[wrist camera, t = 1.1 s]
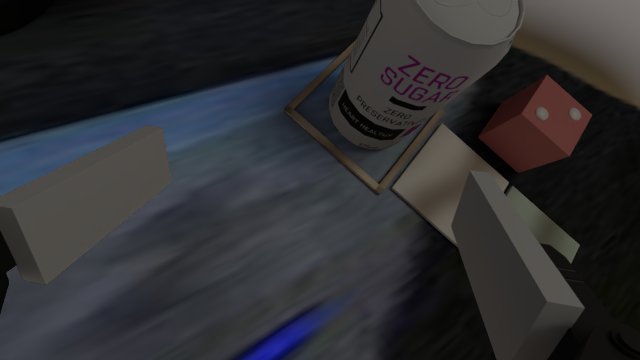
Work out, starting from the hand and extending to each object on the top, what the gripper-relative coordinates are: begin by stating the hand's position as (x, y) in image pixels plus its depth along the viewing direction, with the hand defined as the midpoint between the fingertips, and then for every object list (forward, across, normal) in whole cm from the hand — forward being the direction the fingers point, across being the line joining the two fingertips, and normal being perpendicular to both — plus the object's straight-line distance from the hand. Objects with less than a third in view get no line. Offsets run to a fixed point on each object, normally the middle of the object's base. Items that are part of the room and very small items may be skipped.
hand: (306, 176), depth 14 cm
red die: (+23, +18, -4) cm, 29 cm away
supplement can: (+19, +2, -2) cm, 19 cm away
